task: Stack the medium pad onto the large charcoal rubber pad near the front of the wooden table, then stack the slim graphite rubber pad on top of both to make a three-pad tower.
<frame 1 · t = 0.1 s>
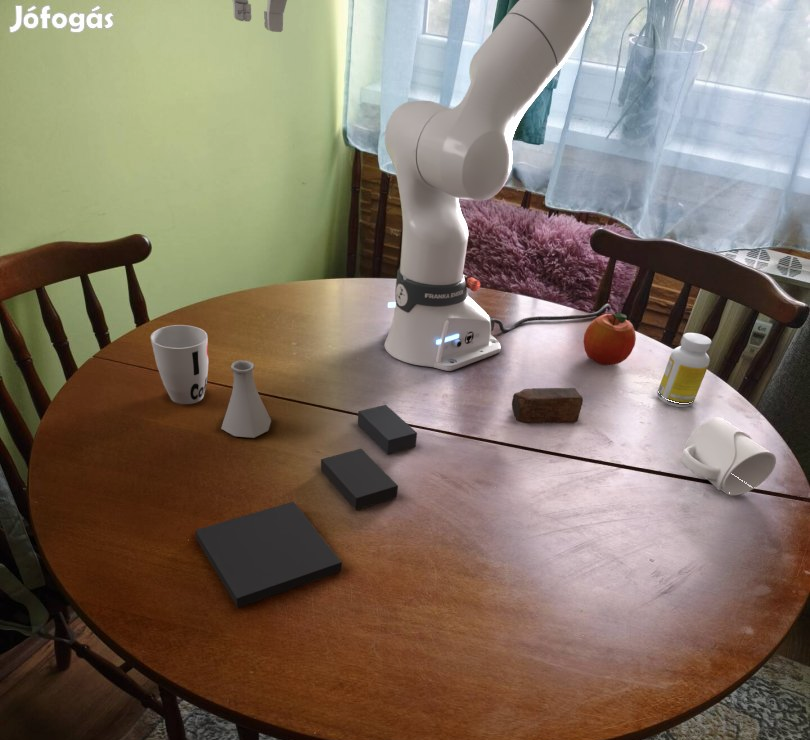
hand: (257, 25, 85), 48 cm above the table, tool pointing down, fingers open, 8 cm apart
medium pad: (358, 483, 96), on the table
cup: (186, 397, 109), on the table
top pad: (386, 435, 106), on the table
mug: (710, 480, 105), on the table
base pad: (268, 555, 83), on the table
flask: (246, 427, 104), on the table
fruit: (602, 361, 134), on the table
pill bottle: (673, 400, 124), on the table
brick: (543, 418, 115), on the table
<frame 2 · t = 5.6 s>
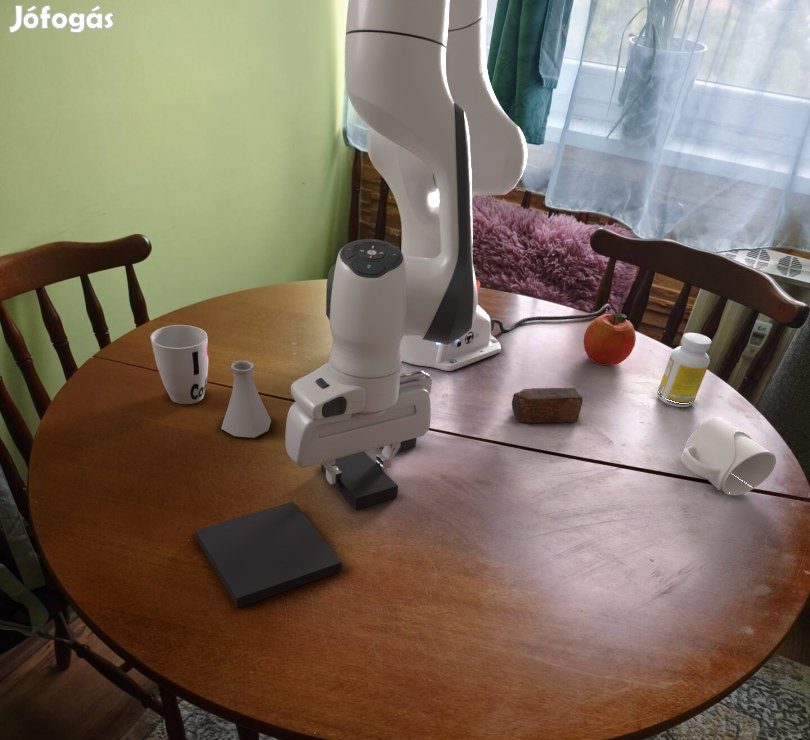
hand: (358, 474, 95), 2 cm above the table, tool pointing down, fingers closed on medium pad, 6 cm apart
medium pad: (358, 483, 96), on the table, touching gripper
everything else where it was.
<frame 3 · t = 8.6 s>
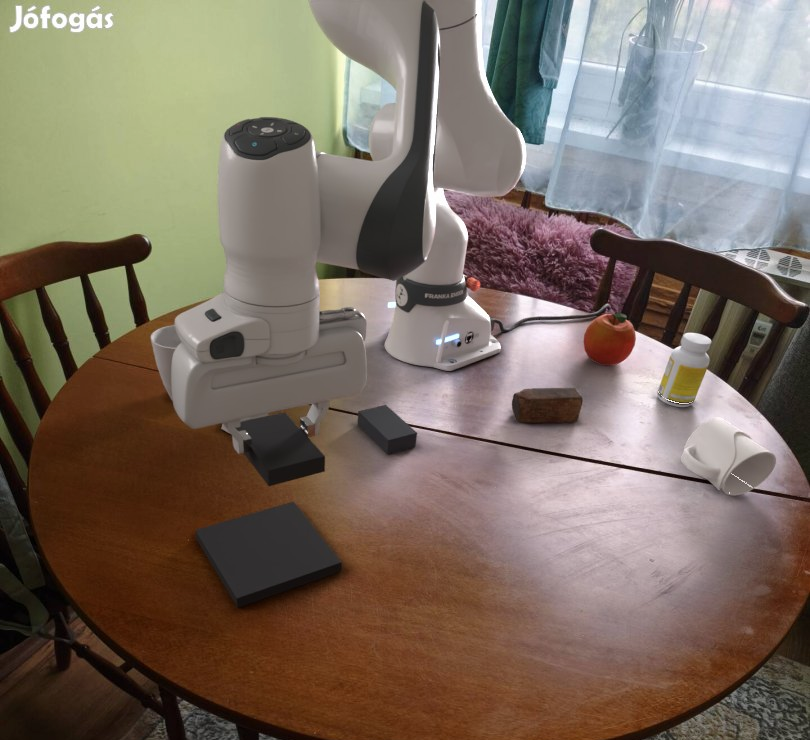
hand: (276, 442, 75), 15 cm above the table, tool pointing down, fingers closed on medium pad, 6 cm apart
medium pad: (277, 455, 76), point 13 cm above the table, touching gripper
everything else where it was.
when the fingers open (3 cm above the table, at t = 11.9 s): medium pad stays where it is, resting on base pad.
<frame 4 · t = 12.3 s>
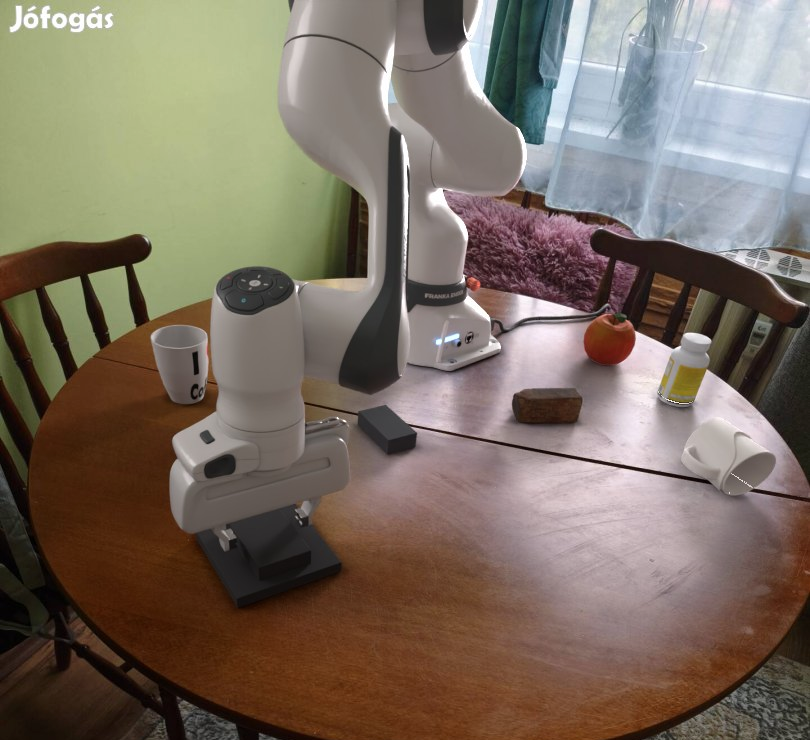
hand: (267, 534, 81), 3 cm above the table, tool pointing down, fingers open, 8 cm apart
medium pad: (267, 546, 82), point 2 cm above the table, touching base pad
base pad: (268, 555, 83), on the table, touching medium pad
everything else where it was.
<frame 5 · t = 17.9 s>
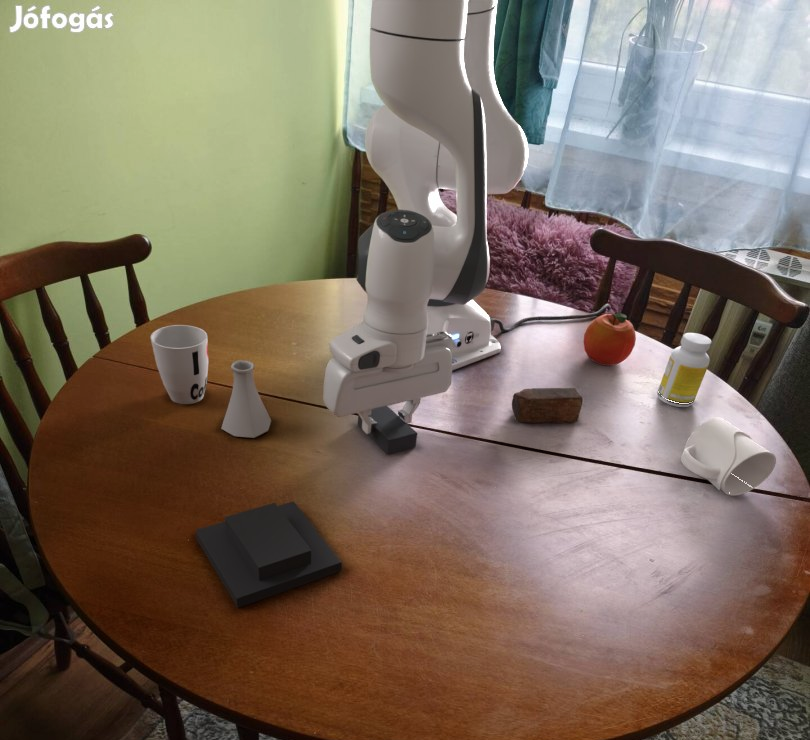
hand: (386, 426, 105), 2 cm above the table, tool pointing down, fingers closed on top pad, 5 cm apart
top pad: (386, 435, 106), on the table, touching gripper
everything else where it was.
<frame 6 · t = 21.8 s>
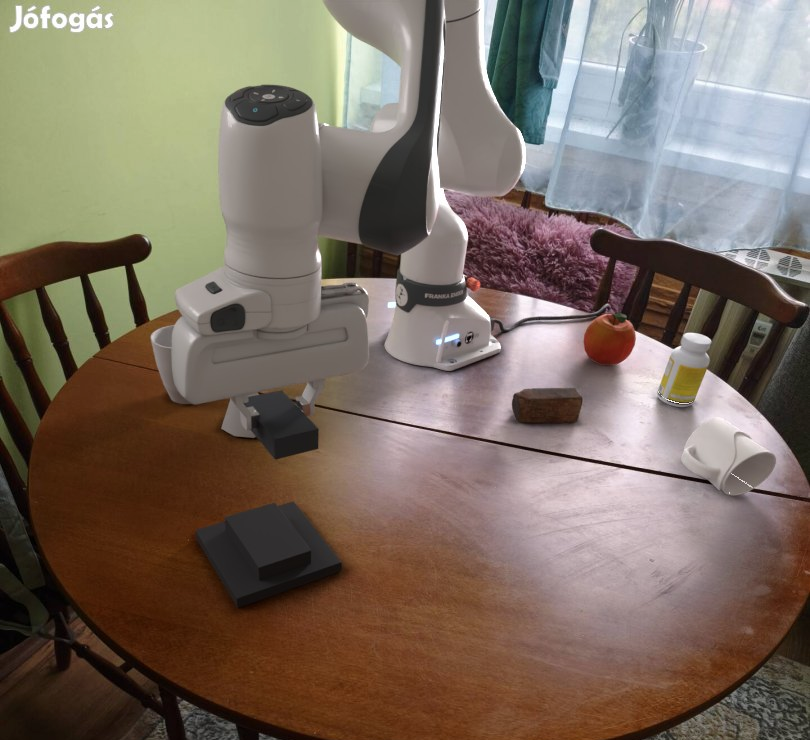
hand: (277, 420, 74), 17 cm above the table, tool pointing down, fingers closed on top pad, 5 cm apart
top pad: (278, 433, 75), point 16 cm above the table, touching gripper
everything else where it was.
when the fingers open (5 cm above the table, at t = 25.8 s): top pad stays where it is, resting on medium pad.
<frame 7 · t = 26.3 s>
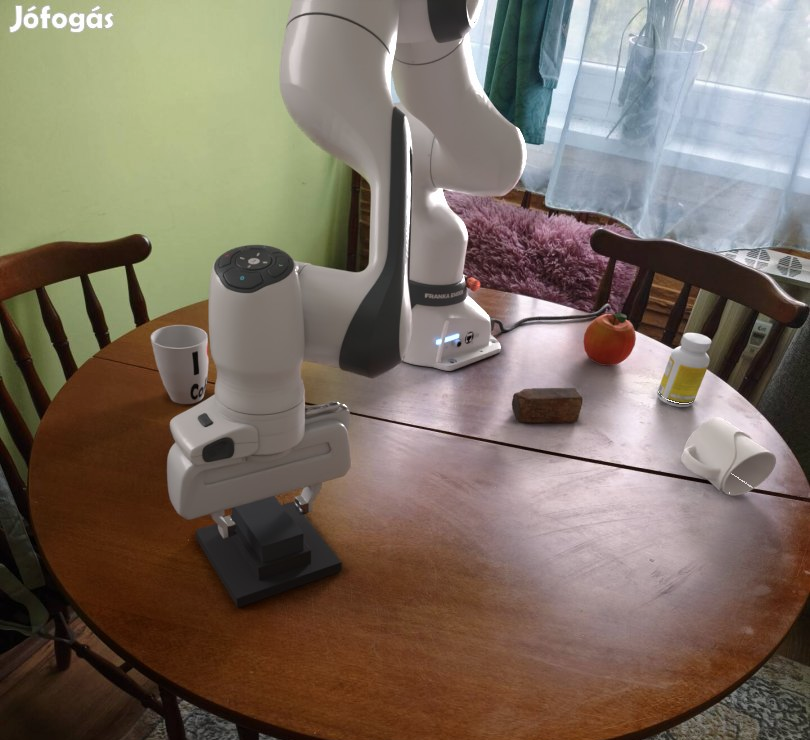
hand: (266, 522, 80), 5 cm above the table, tool pointing down, fingers open, 8 cm apart
medium pad: (267, 546, 82), point 2 cm above the table, touching base pad, top pad
top pad: (267, 533, 81), point 4 cm above the table, touching medium pad
everything else where it was.
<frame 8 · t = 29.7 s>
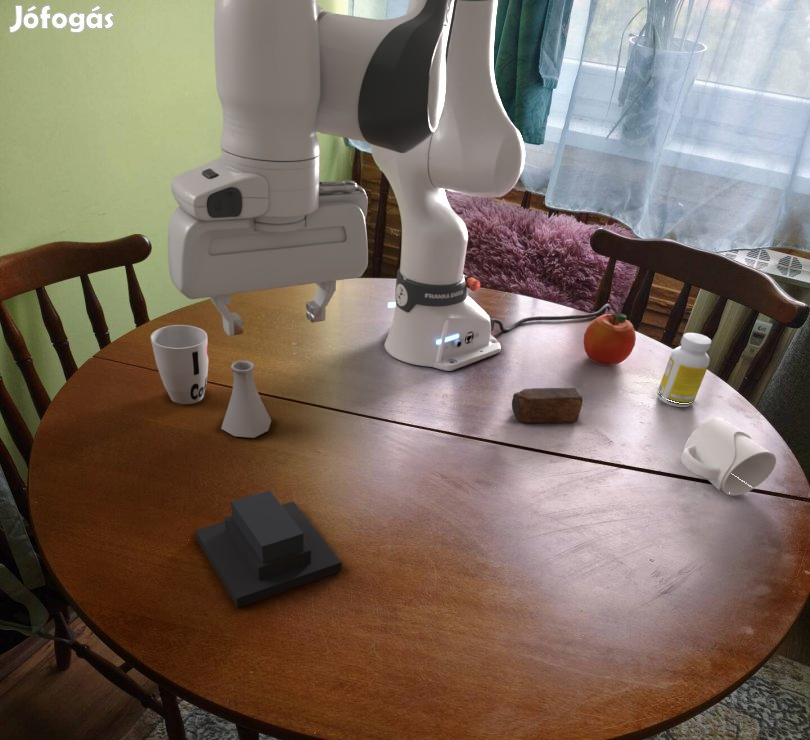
hand: (275, 326, 73), 25 cm above the table, tool pointing down, fingers open, 8 cm apart
nothing on the table moved.
at the end: medium pad 0.1 cm off-centre on the base pad, point 1.5 cm above the base pad's base; top pad 0.1 cm off-centre on the base pad, point 3.5 cm above the base pad's base; top pad tilted 0° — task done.
